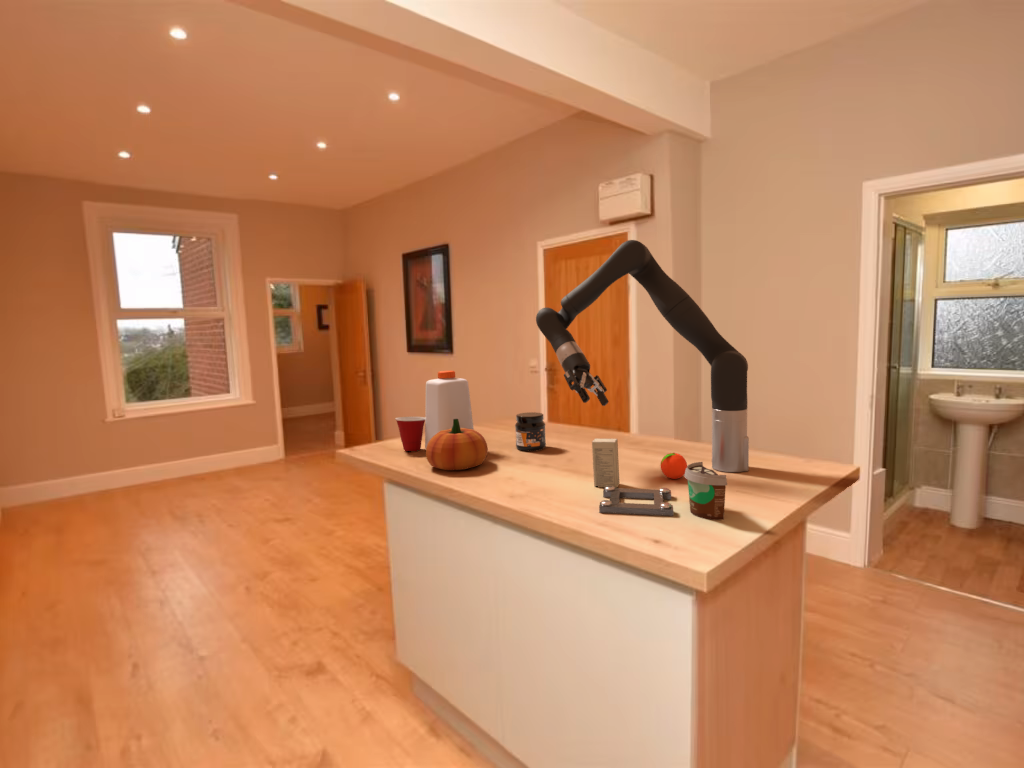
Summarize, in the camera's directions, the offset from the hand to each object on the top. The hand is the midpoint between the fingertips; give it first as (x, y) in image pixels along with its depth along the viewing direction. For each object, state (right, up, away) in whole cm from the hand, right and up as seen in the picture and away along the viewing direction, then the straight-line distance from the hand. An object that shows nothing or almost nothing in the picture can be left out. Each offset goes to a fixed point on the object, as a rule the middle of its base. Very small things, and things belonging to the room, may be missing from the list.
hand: (596, 402), depth 152 cm
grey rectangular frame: (+5, -23, -26) cm, 35 cm away
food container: (+18, -23, -34) cm, 45 cm away
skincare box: (+1, -22, -11) cm, 24 cm away
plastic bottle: (-46, -18, +37) cm, 62 cm away
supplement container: (-17, -17, +35) cm, 43 cm away
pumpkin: (-41, -21, +15) cm, 48 cm away
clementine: (+19, -21, -7) cm, 29 cm away
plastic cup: (-60, -19, +40) cm, 74 cm away
